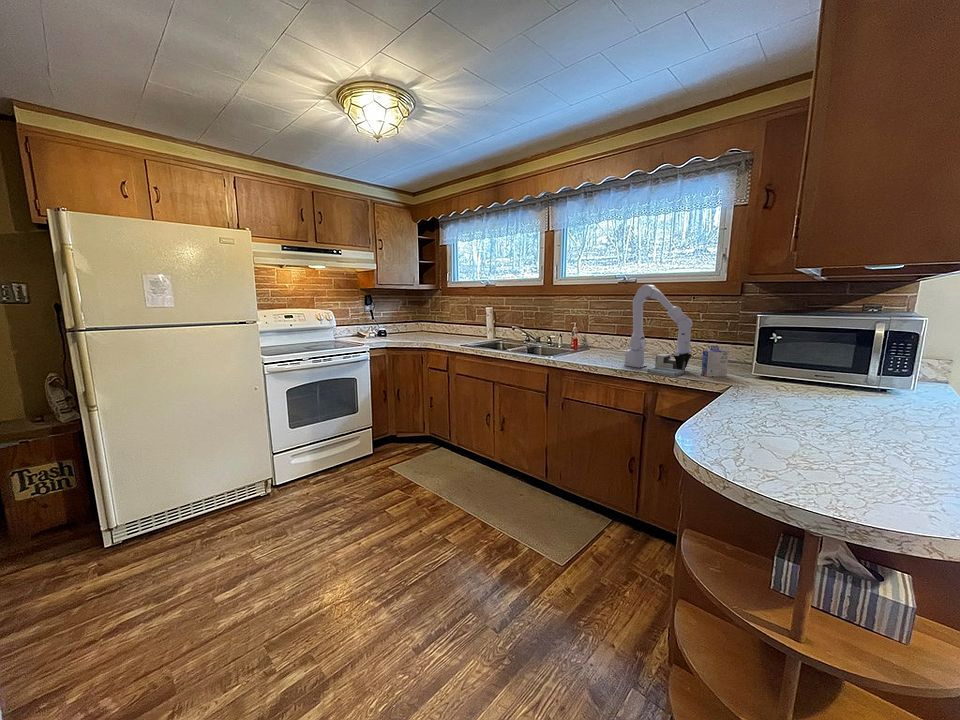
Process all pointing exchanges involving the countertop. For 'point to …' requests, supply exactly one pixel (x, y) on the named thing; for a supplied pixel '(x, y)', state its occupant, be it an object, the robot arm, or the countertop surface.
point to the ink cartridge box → (714, 362)
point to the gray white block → (672, 361)
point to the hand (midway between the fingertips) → (681, 368)
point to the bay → (663, 361)
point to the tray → (665, 371)
